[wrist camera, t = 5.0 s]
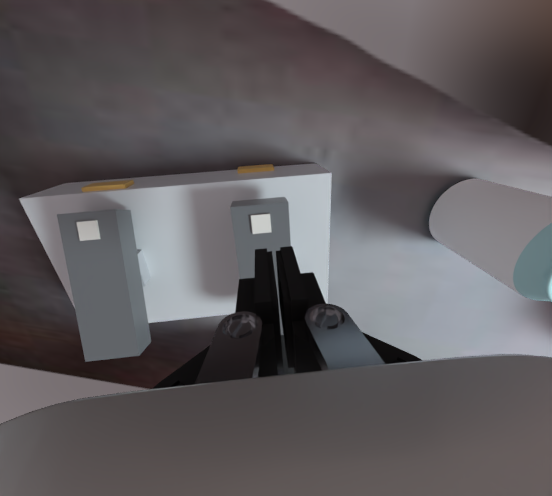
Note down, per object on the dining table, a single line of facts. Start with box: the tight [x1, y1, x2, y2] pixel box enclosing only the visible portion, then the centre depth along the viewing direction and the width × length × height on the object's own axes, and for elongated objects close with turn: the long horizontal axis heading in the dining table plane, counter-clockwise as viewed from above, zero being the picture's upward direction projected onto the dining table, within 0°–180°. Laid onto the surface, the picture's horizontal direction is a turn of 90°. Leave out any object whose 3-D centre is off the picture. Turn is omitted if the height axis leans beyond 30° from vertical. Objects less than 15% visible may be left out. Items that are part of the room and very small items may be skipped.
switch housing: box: [19, 163, 332, 323], centre depth 23 cm, size 22×12×6 cm, turn 94°
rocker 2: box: [230, 197, 291, 335], centre depth 19 cm, size 4×10×2 cm, turn 4°
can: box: [429, 179, 552, 302], centre depth 22 cm, size 7×7×12 cm
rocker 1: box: [57, 209, 151, 362], centre depth 18 cm, size 4×10×2 cm, turn 4°
